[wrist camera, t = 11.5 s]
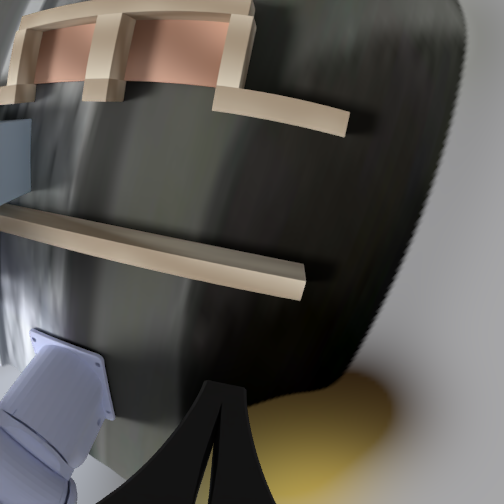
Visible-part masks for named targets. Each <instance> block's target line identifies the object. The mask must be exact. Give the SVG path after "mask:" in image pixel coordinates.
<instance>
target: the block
mask: <svg viewBox="0 0 504 504" xmlns="http://www.w3.org/2000/svg"><path fill="white" fill-rule="evenodd" d="M31 123H32V119H17V120H3V121H0V206H1V205H3V204H5V203H7V202H9V201H11V200H13V199H15V198H17V197H20V196H22V195H24V194H26V193H28V192H30V191H31V166H30V153H31Z"/></svg>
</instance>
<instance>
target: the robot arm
mask: <svg viewBox="0 0 504 504" xmlns="http://www.w3.org/2000/svg"><path fill="white" fill-rule="evenodd" d="M29 335H30V338H31V341H32V345H33V348H34V351H35V354H36V355H35V357H34V358H33V359H32V360H31V362H30V363H29V364H28V365H27V367H26V368H25V369H24V371H23V372H22V373H21V374H20V376H19V377H18V378H17V380H16V381H15V382H14V384H13V385H12V386H11V388H10V389H9V391H8V392H7V393H6V394H5V396H4V397H3V398H2V400H1V401H0V504H77V491H76V484H75V482H74V480H73V479H72V478H71V475H72V473H73V471H74V469H75V468H77V467H79V466H80V465H81V464H82V463H83V462H84V461H85V459H86V458H87V455H88V453H89V451H90V449H91V447H92V445H93V443H94V440H95V438H96V436H97V434H98V432H99V430H100V428H101V426H102V424H103V422H104V420H105V418H106V419H109V420H114V419H115V413H114V409H113V404H112V400H111V395H110V390H109V385H108V380H107V375H106V369H105V364H104V359H103V357H102V356H101V355H100V354H97V353H94V352H91V351H89V350H86V349H83V348H80V347H78V346H75V345H72V344H70V343H67V342H64V341H62V340H59V339H57V338H54V337H52V336H49V335H47V334H44V333H42V332H40V331H37V330H35V329H31V330H30V331H29ZM213 443H214V445H213ZM212 446H213V457H212V467H211V478H210V489H209V499H208V504H276V503H275V501H274V499H273V497H272V494H271V492H270V490H269V487H268V485H267V482H266V480H265V477H264V474H263V472H262V469H261V466H260V463H259V460H258V457H257V453H256V449H255V445H254V441H253V437H252V433H251V428H250V423H249V417H248V410H247V398H246V389H245V388H244V387H239V386H234V385H229V384H224V383H219V382H215V381H210V380H206V381H204V383H203V385H202V388H201V390H200V392H199V394H198V396H197V398H196V399H195V401H194V403H193V404H192V406H191V408H190V409H189V411H188V412H187V414H186V415H185V417H184V418H183V420H182V421H181V422H180V424H179V425H178V427H177V428H176V429H175V431H174V432H173V433H172V434H171V436H170V437H169V438H168V439H167V440H166V442H165V443H164V444H163V445H162V447H161V448H160V449H159V450H158V451H157V452H156V453H155V454H154V455H153V456H152V457H151V458H150V459H149V460H148V461H147V462H146V463H145V464H144V465H143V466H142V467H141V468H140V469H139V470H138V471H137V472H136V473H135V474H134V475H133V476H131V477H130V478H129V479H128V480H127V481H126V482H125V483H123V484H122V485H121V486H120V487H119V488H117V489H116V490H114V491H113V492H112V493H110V494H109V495H107V496H106V497H105V498H103V499H102V500H101V501H99V502H98V503H96V504H195V501H196V498H197V494H198V491H199V488H200V484H201V481H202V478H203V475H204V472H205V469H206V466H207V462H208V459H209V456H210V453H211V450H212Z"/></svg>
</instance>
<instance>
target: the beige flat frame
mask: <svg viewBox="0 0 504 504" xmlns="http://www.w3.org/2000/svg"><path fill="white" fill-rule="evenodd" d="M254 14H255V7H254V3H253V0H92V1H86V2H80V3H75V4H70V5H65V6H60V7H56V8H51V9H47V10H43V11H40V12H36V13H32V14H29V15H25V16H22V19H21V23H20V27H19V31H16V34H15V39H14V44H13V49H12V54H11V60H10V66H9V72H8V79H7V86H2V87H0V105H5V104H16V103H26V102H35V93H36V85H37V84H43V83H56V82H73V81H85V82H84V89H83V96H82V101H105V102H123V100H124V93H125V87H126V81H145V82H163V83H177V84H188V85H198V86H207V87H215V88H216V90H215V96H214V101H213V107H212V111H219V112H226V113H232V114H239V115H245V116H250V117H256V118H261V119H267V120H272V121H277V122H282V123H287V124H291V125H296V126H300V127H305V128H309V129H313V130H318V131H322V132H326V133H330V134H334V135H337V136H341V137H345V133H346V129H347V124H348V120H349V115H350V112H347V111H344V110H340V109H336V108H333V107H329V106H325V105H321V104H317V103H313V102H308V101H304V100H299V99H295V98H290V97H285V96H280V95H275V94H270V93H265V92H259V91H253V90H247V89H244V87H245V82H246V77H247V72H248V67H249V62H250V57H251V52H252V47H253V42H254V38H255V33H256V28H257V27H256V23H255V20H254ZM0 231H2V232H6V233H9V234H13V235H17V236H20V237H24V238H27V239H31V240H35V241H38V242H42V243H46V244H50V245H53V246H57V247H61V248H65V249H69V250H72V251H76V252H80V253H84V254H88V255H92V256H96V257H100V258H104V259H108V260H112V261H117V262H121V263H125V264H129V265H133V266H138V267H142V268H146V269H150V270H155V271H159V272H163V273H168V274H172V275H177V276H181V277H186V278H190V279H195V280H200V281H204V282H209V283H214V284H218V285H223V286H228V287H233V288H238V289H243V290H248V291H253V292H258V293H263V294H268V295H273V296H278V297H283V298H289V299H294V300H299V301H300V300H301V297H302V293H303V290H304V287H305V283H306V277H305V270H304V264H301V263H296V262H291V261H286V260H281V259H276V258H271V257H266V256H261V255H256V254H251V253H246V252H241V251H237V250H232V249H227V248H222V247H217V246H212V245H207V244H202V243H197V242H192V241H187V240H182V239H177V238H172V237H168V236H163V235H158V234H153V233H148V232H143V231H138V230H133V229H128V228H123V227H119V226H114V225H109V224H104V223H99V222H94V221H89V220H84V219H79V218H74V217H70V216H65V215H60V214H55V213H50V212H45V211H40V210H35V209H31V208H26V207H21V206H16V205H11V204H6V203H5V204H3V205H1V206H0Z"/></svg>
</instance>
